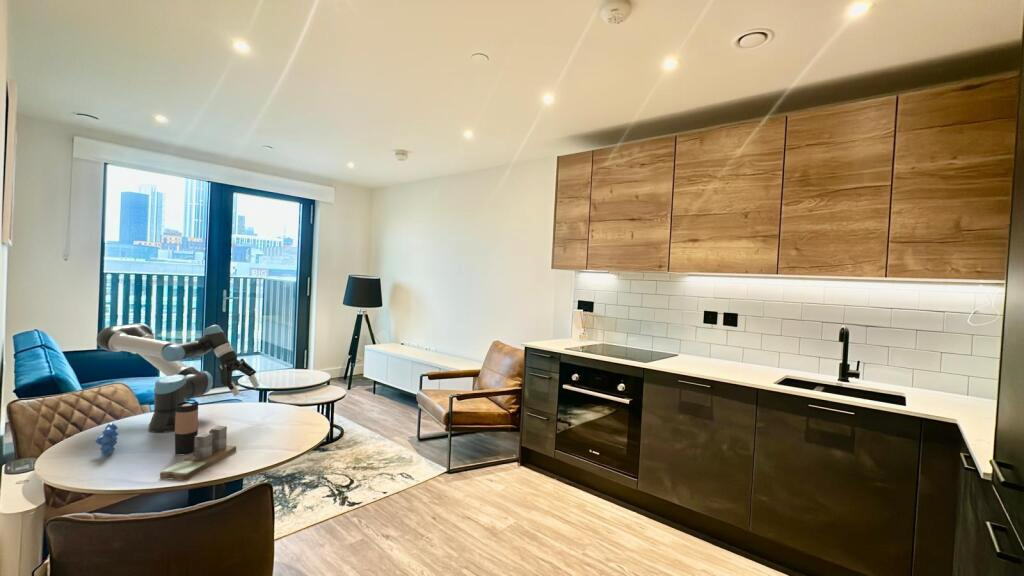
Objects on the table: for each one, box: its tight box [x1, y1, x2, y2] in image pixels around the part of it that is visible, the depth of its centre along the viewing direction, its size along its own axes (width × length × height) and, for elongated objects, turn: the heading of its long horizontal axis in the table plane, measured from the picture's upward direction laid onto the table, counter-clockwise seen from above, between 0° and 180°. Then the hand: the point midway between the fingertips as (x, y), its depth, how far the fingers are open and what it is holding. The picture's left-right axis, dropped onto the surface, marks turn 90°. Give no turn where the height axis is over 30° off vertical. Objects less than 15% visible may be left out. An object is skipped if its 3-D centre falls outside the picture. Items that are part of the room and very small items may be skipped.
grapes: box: [94, 422, 119, 457], centre depth 174 cm, size 12×7×12 cm, turn 29°
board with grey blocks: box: [159, 425, 237, 481], centre depth 170 cm, size 10×26×11 cm, turn 176°
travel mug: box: [174, 401, 199, 455], centre depth 180 cm, size 8×8×20 cm
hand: (247, 390), depth 215 cm, fingers open, 13 cm apart
